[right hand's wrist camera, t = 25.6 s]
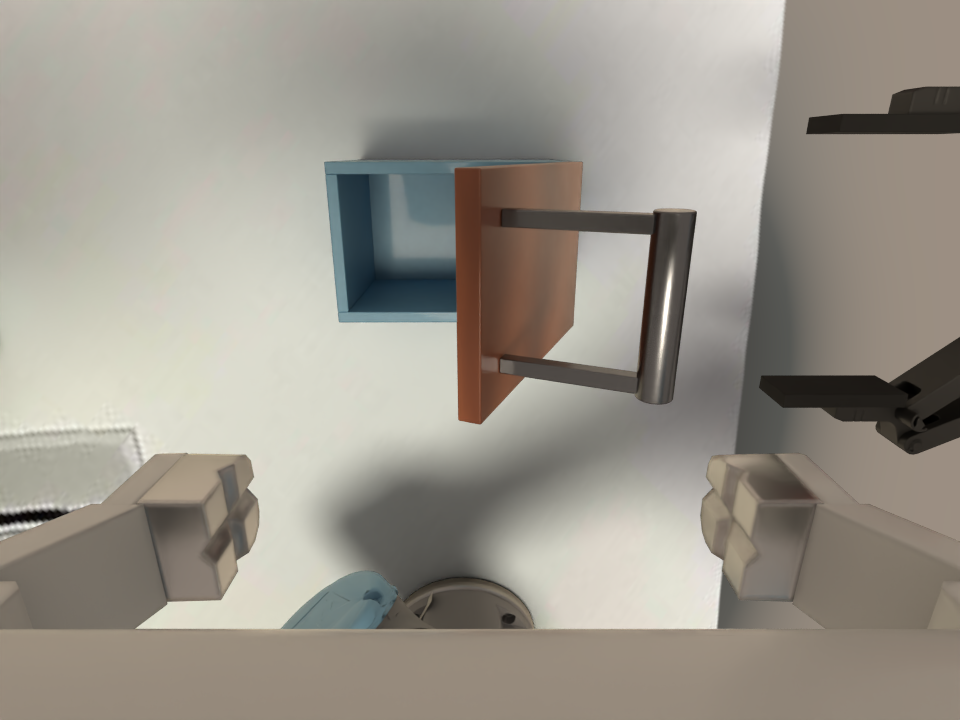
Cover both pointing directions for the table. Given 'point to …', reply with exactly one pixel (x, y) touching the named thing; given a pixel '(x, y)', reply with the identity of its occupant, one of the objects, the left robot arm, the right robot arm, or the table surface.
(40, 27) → the table surface
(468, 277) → the lid
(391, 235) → the chest
